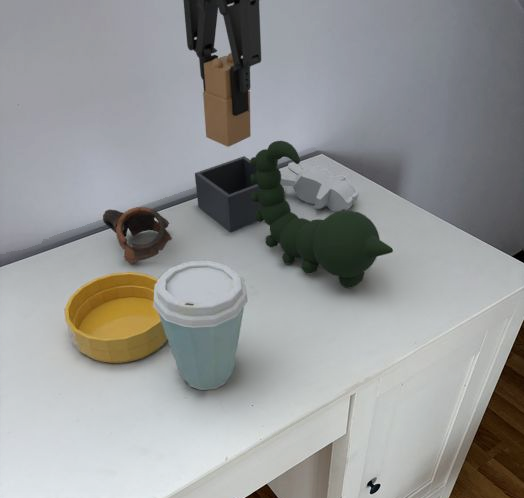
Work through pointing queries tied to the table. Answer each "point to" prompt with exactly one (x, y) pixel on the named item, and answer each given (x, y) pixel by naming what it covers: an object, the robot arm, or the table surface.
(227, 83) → the tan stacked block
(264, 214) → the toy figurine
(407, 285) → the table surface
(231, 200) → the bin
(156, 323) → the bowl
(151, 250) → the rusty brown ring frame
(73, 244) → the table surface
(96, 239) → the table surface
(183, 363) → the disposable coffee cup
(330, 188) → the bunny figurine
